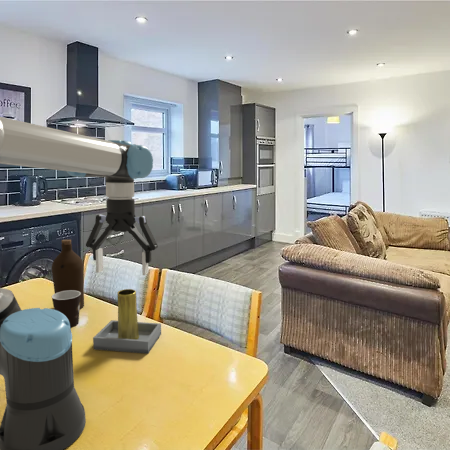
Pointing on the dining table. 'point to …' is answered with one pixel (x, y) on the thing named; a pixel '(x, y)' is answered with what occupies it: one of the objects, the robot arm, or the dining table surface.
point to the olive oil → (68, 271)
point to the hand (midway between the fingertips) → (122, 272)
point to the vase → (127, 314)
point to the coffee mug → (68, 305)
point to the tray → (111, 342)
